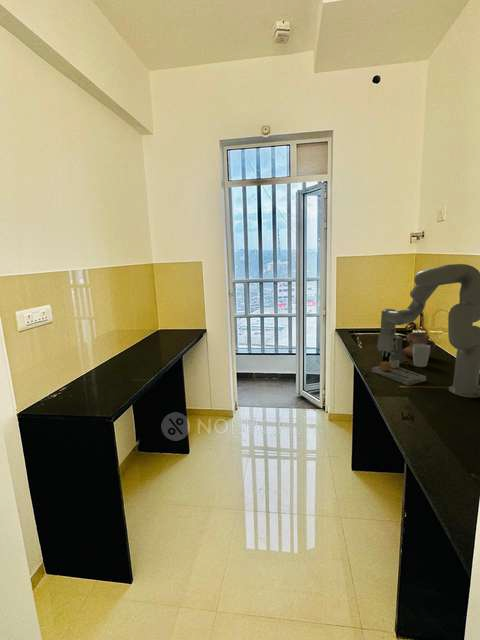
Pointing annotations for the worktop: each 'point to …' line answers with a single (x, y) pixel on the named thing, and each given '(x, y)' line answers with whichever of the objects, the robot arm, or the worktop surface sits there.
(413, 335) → the ceramic jug
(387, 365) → the fader orange
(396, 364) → the fader white
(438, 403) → the worktop surface
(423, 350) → the cup
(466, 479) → the worktop surface
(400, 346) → the skincare box
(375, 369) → the console
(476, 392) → the robot arm
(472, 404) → the worktop surface
